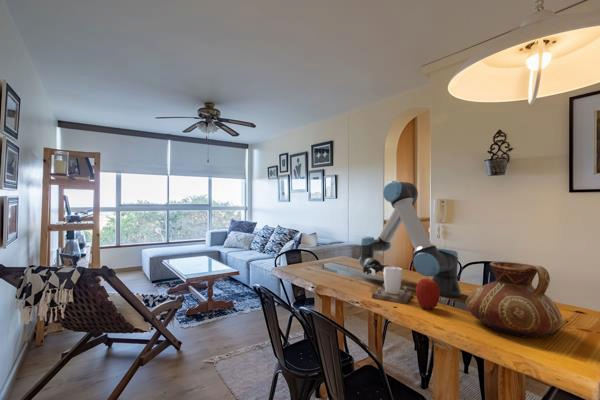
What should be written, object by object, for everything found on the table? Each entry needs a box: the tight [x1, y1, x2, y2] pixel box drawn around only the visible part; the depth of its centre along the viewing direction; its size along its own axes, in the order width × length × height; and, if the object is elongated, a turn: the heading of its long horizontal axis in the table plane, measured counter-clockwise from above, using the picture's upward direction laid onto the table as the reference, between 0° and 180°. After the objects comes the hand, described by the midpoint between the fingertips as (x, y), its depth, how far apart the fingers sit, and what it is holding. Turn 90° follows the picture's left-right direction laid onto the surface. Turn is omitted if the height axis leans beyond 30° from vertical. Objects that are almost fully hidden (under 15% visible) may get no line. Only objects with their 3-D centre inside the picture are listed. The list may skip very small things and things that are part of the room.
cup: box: [383, 265, 403, 294], centre depth 153 cm, size 9×9×12 cm
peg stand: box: [371, 283, 413, 305], centre depth 153 cm, size 16×16×4 cm
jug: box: [465, 261, 563, 338], centre depth 119 cm, size 30×30×25 cm
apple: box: [415, 278, 441, 310], centre depth 137 cm, size 10×10×14 cm
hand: (387, 273), depth 159 cm, fingers open, 13 cm apart
